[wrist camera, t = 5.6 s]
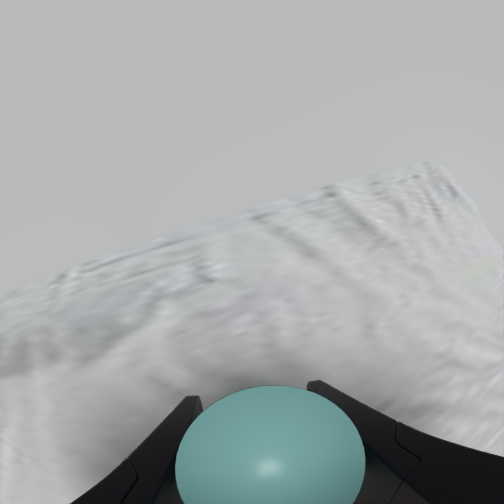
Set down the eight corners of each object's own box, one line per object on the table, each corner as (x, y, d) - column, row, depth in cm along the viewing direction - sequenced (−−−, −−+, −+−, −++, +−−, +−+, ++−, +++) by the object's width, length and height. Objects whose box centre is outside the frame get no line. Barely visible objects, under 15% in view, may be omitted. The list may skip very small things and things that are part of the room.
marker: (300, 428, 14) (395, 478, 4) (244, 464, 13) (246, 571, 3) (262, 377, 15) (298, 348, 6) (206, 412, 14) (139, 443, 5)
